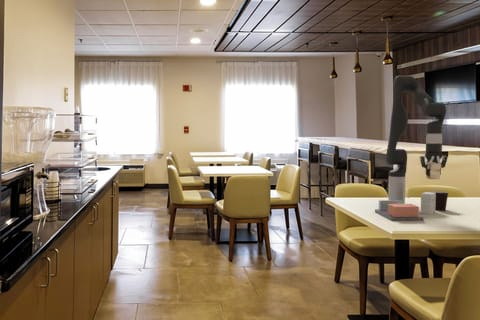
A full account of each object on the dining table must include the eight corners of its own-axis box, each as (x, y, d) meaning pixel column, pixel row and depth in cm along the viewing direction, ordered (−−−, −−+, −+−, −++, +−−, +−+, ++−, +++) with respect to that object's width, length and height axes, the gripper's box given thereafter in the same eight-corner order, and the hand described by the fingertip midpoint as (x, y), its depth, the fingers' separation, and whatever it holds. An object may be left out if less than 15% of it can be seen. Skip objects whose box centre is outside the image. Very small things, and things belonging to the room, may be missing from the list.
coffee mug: (443, 211, 237) (443, 193, 236) (427, 209, 243) (428, 191, 243) (453, 209, 244) (453, 191, 243) (437, 207, 251) (438, 190, 250)
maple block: (426, 178, 225) (426, 162, 225) (435, 178, 225) (435, 162, 225) (431, 179, 220) (431, 163, 220) (439, 179, 220) (440, 163, 220)
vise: (374, 212, 237) (375, 200, 236) (404, 211, 237) (404, 199, 237) (391, 220, 213) (391, 207, 213) (423, 220, 214) (423, 207, 213)
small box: (424, 210, 240) (425, 191, 239) (435, 212, 236) (436, 192, 236) (420, 212, 234) (420, 193, 233) (431, 214, 230) (431, 194, 229)
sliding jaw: (387, 213, 224) (387, 203, 223) (410, 213, 224) (410, 203, 224) (394, 217, 214) (394, 207, 214) (418, 216, 215) (418, 206, 214)
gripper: (444, 142, 225) (443, 175, 227) (416, 142, 225) (416, 175, 226) (451, 142, 218) (450, 176, 219) (423, 142, 218) (422, 177, 219)
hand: (433, 176), depth 223 cm, fingers closed on maple block, 4 cm apart
